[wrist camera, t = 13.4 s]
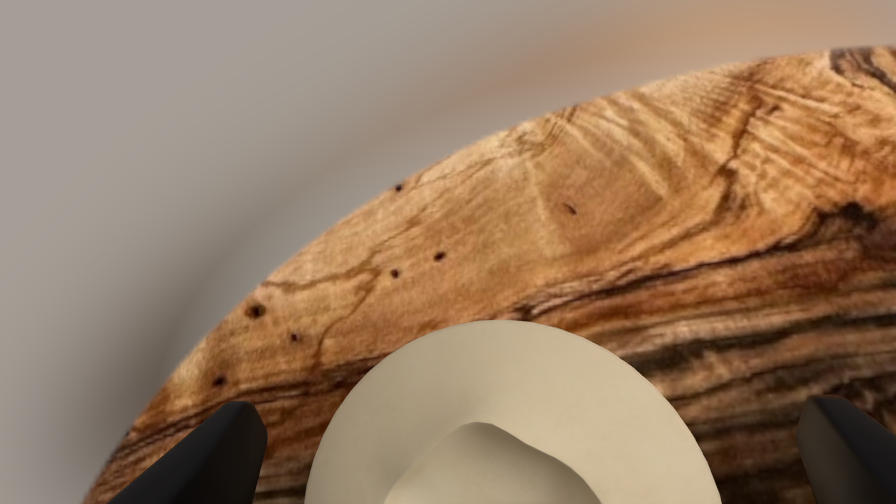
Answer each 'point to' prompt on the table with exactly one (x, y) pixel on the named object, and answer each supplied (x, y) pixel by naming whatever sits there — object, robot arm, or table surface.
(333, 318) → the table surface
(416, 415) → the candle
